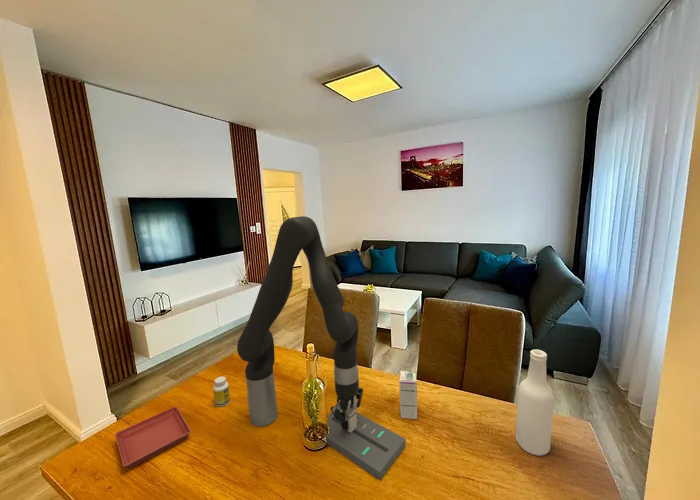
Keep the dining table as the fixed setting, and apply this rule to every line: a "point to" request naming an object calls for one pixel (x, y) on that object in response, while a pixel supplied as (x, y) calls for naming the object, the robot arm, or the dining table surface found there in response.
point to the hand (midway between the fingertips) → (348, 425)
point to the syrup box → (408, 394)
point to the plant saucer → (151, 436)
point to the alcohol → (535, 407)
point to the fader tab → (351, 420)
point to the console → (366, 444)
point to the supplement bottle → (221, 392)
